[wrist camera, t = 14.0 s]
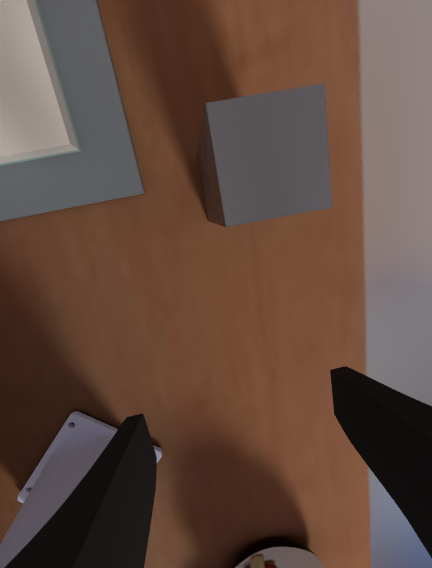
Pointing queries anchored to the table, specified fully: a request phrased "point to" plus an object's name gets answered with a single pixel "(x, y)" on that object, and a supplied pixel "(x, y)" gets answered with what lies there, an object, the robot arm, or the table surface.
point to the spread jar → (277, 555)
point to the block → (265, 156)
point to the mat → (77, 123)
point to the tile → (30, 89)
